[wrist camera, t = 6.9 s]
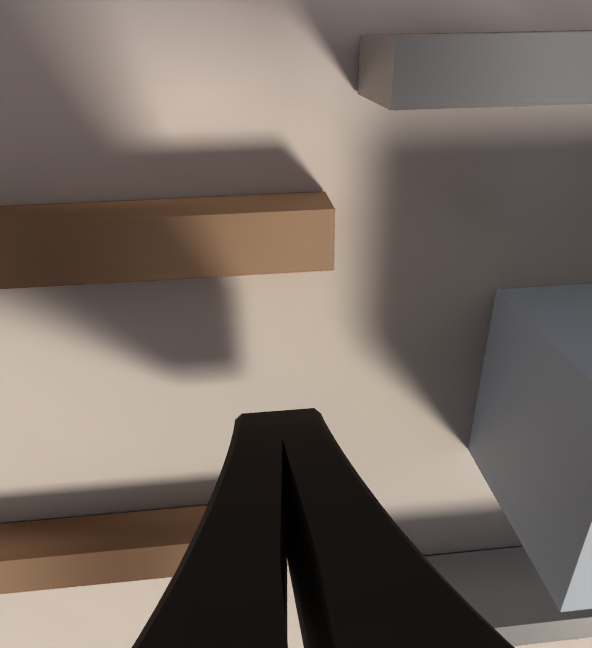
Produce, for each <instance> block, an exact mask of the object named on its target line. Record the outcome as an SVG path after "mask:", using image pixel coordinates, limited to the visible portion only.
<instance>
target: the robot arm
mask: <svg viewBox="0 0 592 648" xmlns="http://www.w3.org/2000/svg"><path fill="white" fill-rule="evenodd" d="M287 560H288V565H289V571H290V576H291V582H292V587H293V592H294V597H295V603H296V608H297V613H298V619H299V624H300V629H301V634H302V640H303V645H304V648H515V647H513V646H512V645H511V644H510V643H509V642H508V641H507V640H506V639H505V638H504V637H503V636H502V635H501V634H500V633H499V632H498V631H497V630H495V629H494V628H493V627H492V626H491V625H490V624H489V623H488V622H487V621H486V620H485V619H484V618H483V617H482V616H481V615H480V614H479V613H478V612H477V611H476V610H475V609H474V608H473V607H472V606H471V605H470V604H469V603H468V602H467V601H466V600H465V599H464V598H463V597H462V596H461V595H460V594H459V593H458V592H457V591H456V590H455V589H454V588H453V587H452V586H451V585H450V584H449V583H448V582H447V581H446V580H445V579H444V578H443V577H442V575H441V574H440V573H439V572H438V571H437V570H436V569H435V568H434V567H433V566H432V565H431V564H430V562H429V561H428V560H427V559H426V558H425V557H424V556H423V555H422V553H421V552H420V551H419V550H418V549H417V548H416V547H415V545H414V544H413V543H412V542H411V541H410V540H409V538H408V537H407V536H406V535H405V534H404V532H403V531H402V530H401V529H400V528H399V527H398V525H397V524H396V523H395V522H394V521H393V519H392V518H391V517H390V516H389V514H388V513H387V512H386V511H385V509H384V508H383V507H382V506H381V504H380V503H379V502H378V500H377V499H376V498H375V496H374V495H373V493H372V492H371V491H370V489H369V488H368V487H367V485H366V484H365V483H364V481H363V480H362V479H361V477H360V476H359V475H358V473H357V472H356V470H355V469H354V468H353V466H352V465H351V463H350V462H349V460H348V459H347V457H346V456H345V454H344V453H343V451H342V450H341V448H340V447H339V445H338V443H337V442H336V440H335V439H334V437H333V435H332V434H331V432H330V430H329V428H328V427H327V425H326V423H325V421H324V419H323V417H322V415H321V413H320V412H318V411H317V410H316V409H315V408H310V409H297V410H284V411H271V412H258V413H245V414H241V415H240V416H239V417H238V418H237V419H236V420H235V425H234V431H233V435H232V439H231V443H230V446H229V450H228V453H227V456H226V459H225V462H224V465H223V468H222V470H221V473H220V476H219V478H218V481H217V483H216V486H215V488H214V491H213V493H212V495H211V498H210V500H209V503H208V505H207V508H206V510H205V512H204V515H203V517H202V519H201V521H200V523H199V525H198V527H197V530H196V532H195V534H194V536H193V538H192V540H191V542H190V544H189V546H188V548H187V550H186V552H185V554H184V556H183V558H182V560H181V562H180V564H179V566H178V568H177V570H176V572H175V574H174V576H173V577H172V579H171V581H170V583H169V585H168V587H167V589H166V590H165V592H164V594H163V596H162V598H161V599H160V601H159V603H158V605H157V606H156V608H155V610H154V611H153V613H152V615H151V617H150V618H149V620H148V622H147V623H146V625H145V627H144V628H143V630H142V632H141V634H140V635H139V637H138V638H137V640H136V642H135V643H134V645H133V646H132V648H288V644H287Z"/></svg>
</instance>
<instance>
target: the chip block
mask: <svg viewBox="0 0 592 648" xmlns="http://www.w3.org/2000/svg"><path fill="white" fill-rule="evenodd" d="M468 450H469V452H470V454H471V455H472V457H473V459H474V461H475V462H476V464H477V466H478V468H479V469H480V471H481V473H482V475H483V477H484V478H485V480H486V482H487V484H488V485H489V487H490V489H491V491H492V492H493V494H494V496H495V498H496V500H497V501H498V503H499V505H500V507H501V508H502V510H503V512H504V514H505V516H506V517H507V519H508V521H509V523H510V524H511V526H512V528H513V530H514V531H515V533H516V535H517V537H518V539H519V540H520V542H521V544H522V546H523V547H524V549H525V551H526V553H527V554H528V556H529V558H530V560H531V562H532V563H533V565H534V567H535V569H536V570H537V572H538V574H539V576H540V577H541V579H542V581H543V583H544V585H545V586H546V588H547V590H548V592H549V593H550V595H551V597H552V599H553V600H554V602H555V604H556V606H557V608H558V609H559V611H560V612H567V611H575V610H584V609H592V283H586V284H569V285H552V286H536V287H519V288H503V289H496V294H495V299H494V305H493V311H492V316H491V322H490V328H489V333H488V339H487V345H486V350H485V356H484V361H483V367H482V373H481V378H480V384H479V390H478V395H477V401H476V407H475V412H474V418H473V424H472V429H471V435H470V440H469V446H468Z"/></svg>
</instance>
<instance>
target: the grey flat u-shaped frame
mask: <svg viewBox="0 0 592 648" xmlns="http://www.w3.org/2000/svg"><path fill="white" fill-rule="evenodd" d="M358 94H359V95H361V96H363V97H365V98H367V99H369V100H371V101H373V102H375V103H377V104H379V105H381V106H383V107H386V108H388V109H390V110H409V109H440V108H470V107H501V106H532V105H562V104H592V30H578V31H531V32H484V33H437V34H390V35H360V46H359V76H358ZM424 557H425V558H426V559H427V560H428V561H429V562H430V564H431V565H432V566H433V567H434V568H435V569H436V570H437V571H438V572H439V573H440V574H441V575H442V577H443V578H444V579H445V580H446V581H447V582H448V583H449V584H450V585H451V586H452V587H453V588H454V589H455V590H456V591H457V592H458V593H459V594H460V595H461V596H462V597H463V598H464V599H465V600H466V601H467V602H468V603H469V604H470V605H471V606H472V607H473V608H474V609H475V610H476V611H477V612H478V613H479V614H480V615H481V616H482V617H483V618H484V619H485V620H486V621H487V622H488V623H489V624H490V625H491V626H492V627H493V628H494V629H495V630H497V631H498V632H499V633H500V634H501V635H502V636H503V637H504V638H505V639H506V640H507V641H508V642H509V643H510V644H511V645H512V646H519V645H528V644H536V643H545V642H554V641H562V640H571V639H580V638H588V637H592V609H584V610H575V611H567V612H560V611H559V609H558V608H557V606H556V604H555V602H554V600H553V599H552V597H551V595H550V593H549V592H548V590H547V588H546V586H545V585H544V583H543V581H542V579H541V577H540V576H539V574H538V572H537V570H536V569H535V567H534V565H533V563H532V562H531V560H530V558H529V556H528V554H527V553H526V551H525V549H524V547H513V548H503V549H494V550H484V551H474V552H464V553H454V554H444V555H434V556H424Z"/></svg>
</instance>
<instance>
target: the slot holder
mask: <svg viewBox="0 0 592 648" xmlns="http://www.w3.org/2000/svg"><path fill="white" fill-rule="evenodd" d="M334 230H335V208H334V207H333V205H332V203H331V201H330V200H329V198H328V196H327V194H326V193H325V192H310V193H287V194H265V195H242V196H220V197H197V198H175V199H153V200H130V201H108V202H85V203H63V204H40V205H18V206H0V289H9V288H27V287H45V286H63V285H80V284H98V283H116V282H134V281H151V280H169V279H187V278H205V277H222V276H240V275H258V274H276V273H293V272H311V271H329V270H334ZM206 508H207V505H204V506H193V507H182V508H171V509H160V510H149V511H138V512H126V513H115V514H104V515H93V516H82V517H71V518H60V519H48V520H37V521H26V522H15V523H4V524H0V594H6V593H16V592H26V591H36V590H46V589H56V588H66V587H76V586H86V585H96V584H106V583H116V582H127V581H137V580H147V579H157V578H167V577H173V576H174V574H175V572H176V570H177V568H178V566H179V564H180V562H181V560H182V558H183V556H184V554H185V552H186V550H187V548H188V546H189V544H190V542H191V540H192V538H193V536H194V534H195V532H196V530H197V527H198V525H199V523H200V521H201V519H202V517H203V515H204V512H205V510H206ZM287 565H288V560H287Z"/></svg>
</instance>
